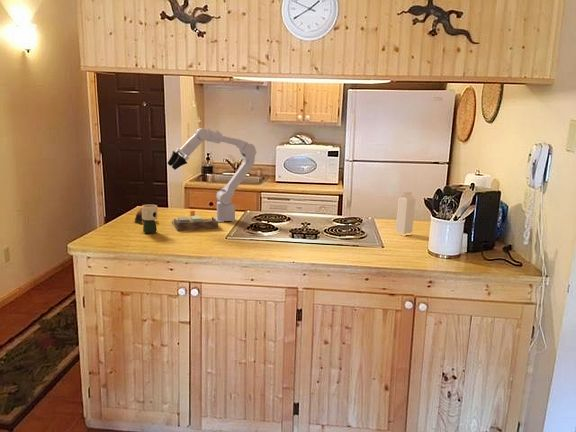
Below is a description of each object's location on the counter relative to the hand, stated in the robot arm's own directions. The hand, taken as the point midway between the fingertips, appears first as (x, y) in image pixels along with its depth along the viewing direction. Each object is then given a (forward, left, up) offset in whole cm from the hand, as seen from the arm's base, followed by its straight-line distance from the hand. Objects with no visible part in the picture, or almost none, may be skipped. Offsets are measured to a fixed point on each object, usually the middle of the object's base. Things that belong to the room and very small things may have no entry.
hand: (170, 166), depth 252 cm
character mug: (+12, +17, -29) cm, 36 cm away
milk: (-110, +47, -29) cm, 123 cm away
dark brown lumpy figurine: (+13, -4, -29) cm, 32 cm away
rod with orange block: (-11, +8, -28) cm, 31 cm away
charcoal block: (-4, +12, -29) cm, 32 cm away
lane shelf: (-11, +8, -29) cm, 32 cm away
